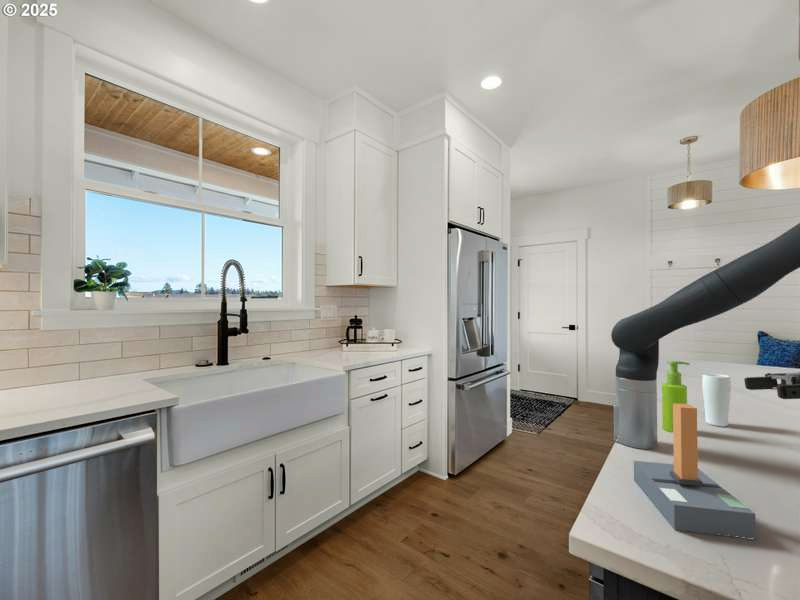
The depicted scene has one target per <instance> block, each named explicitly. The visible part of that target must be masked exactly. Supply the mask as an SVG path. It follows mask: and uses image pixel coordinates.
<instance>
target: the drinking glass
mask: <svg viewBox="0 0 800 600" xmlns="http://www.w3.org/2000/svg"><path fill="white" fill-rule="evenodd" d="M731 382H732V381H731V376H730V375H728V374H727V375H726V374H720V373H702V377H701V386H702V387H701V388H702V397H703V406H704V415H705V417H704V418H705V419H704V420H705V423H706V424H707V425H710V426H713V427H714V426H715V427H721V428H722V427H723V428H726V427H727V426H729V412H730V403H731V391H732V383H731Z"/></svg>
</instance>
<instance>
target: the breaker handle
mask: <svg viewBox="0 0 800 600" xmlns="http://www.w3.org/2000/svg"><path fill="white" fill-rule="evenodd" d="M672 433H673V434H672V435H673V437H672V438H673V439H672V440H673V464H674V471H670V476H671V477H672V478H673V479H674V480H675V481H676V482H677V483H678V484H685V485H695V486H702V481H701V480H700V479H699V478H698V469H699V464H698V463H699V462H698V458H699V456H698V455H699V454H698V453H699V452H698V408H697V407H695V406H693V405H691V404H689V403H687V404H676V403H673V432H672Z"/></svg>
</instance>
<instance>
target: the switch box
mask: <svg viewBox="0 0 800 600" xmlns="http://www.w3.org/2000/svg"><path fill="white" fill-rule="evenodd" d="M670 471H674V463H664V462H652V461H640V460H633V481H634V482H635V484H636V485H637V486H638V487H639V488H640V489H641V491H642V492H643V493H644V494H645V495H646V497H647V498H648V499H649V501H650V502H651V503H652V504H653V505H654V507H655V508H656V509H657V510H658V511H659V513H660V514H661V515H662V517H663V518H664V519H665V520H666V521H667V522H668V523H669V525H670V526H671V528H672V529H673V528H674V529H673V530H674V531H680V530H682V531H681V532H688V531H690V532H689V533H697V532H698V534H705V533H708V534H707V535H713V534H718V535H717V536H721V535H727V536H726V537H729V536H738V537H745V538H744V539H746V538H754V539H756V536H757V535H756V512H754V511H753V510H751V509H750V508H749V507H748V506H746V505H745V504H744V503H742V502H741V501H740V500H739V499H738V498H736V497H735V496H733V495H732V494H731V493H729V491H727V490H726V489H725V488H723V487H722V486H721V485H720V484H718V483H717V482H716V481H715V480H713V479H712V478H711V477H709V475H707V474H706V473H704V472H703V470H701V469H700V468H698V478H699V479H700V480H701V481H702V486H695V485H685V484H678V483H677V482H676V481H675V480H674V479H673V478H672V477H671V476H670ZM675 529H676V530H675ZM699 532H700V533H699ZM719 534H720V535H719ZM728 535H729V536H728ZM754 539H753V540H754ZM756 540H757V539H756Z"/></svg>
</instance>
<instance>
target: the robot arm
mask: <svg viewBox="0 0 800 600" xmlns="http://www.w3.org/2000/svg"><path fill="white" fill-rule="evenodd" d="M798 269H800V222H799V223H797V224H796V225H794V226H793V227H791V228H790V229H788V230H787V231H785V232H784V233H782V234H780V235H779V236H777V237H776V238H774V239H772V240H770V241H769V242H767V243H765V244H763V245H761V246H760V247H757V248H755V249H753V250H751V251H749V252H747V253H745V254H744V255H741V256H739V257H737V258H735V259H734V260H732V261H730V262H728V263H726V264H724V265H722V266H720V267H718V268H716V269H714V270H711V271H710V272H708V273H706V274H705V275H703V276H701V277H699V278H697V279H696V280H694V281H693V282H691V283H689V284H687V285H685V286H684V287H682V288H681V289H679V290H678V291H676V292H674V293H673V294H672V295H670V296H668V297H666V298H665V299H663V300H662V301H660V302H658V303H657V304H655V305H652V306H651V307H648V308H646V309H644V310H642V311H638V312H637V313H635V314H632V315H630V316H626V317H625V318H622V319H619V321H617V322H616V323H615V325H614V326H613V328H612V330H611V334H610V335H611V340H612V341H611V342H612V343H613V344H614V346H615V347H616V348H617V349H619V352H618V353H619V356H618V360H617V363H616V366H615V404H614V405H613V441H614V442H617V443H620V444H622V445H624V446H627V447H632V448H636V449H643V450H644V449H646V450H649V449H650V450H652V449H656V448H657V447H658V385H657V382H658V380H657V378H658V376H657V375H658V374H657V373H658V369H659V362H660V361H659V360H660V356H659V355H660V339H662V338H664V337H666V336H668V335H669V334H671V333H673V332H675V331H677V330H679V329H681V328H684V327H688V326H691V325H694V324H697V323H699V322H700V323H701V322H703V321H706V320H709V319H711V318H714V317H717V316H719V315H721V314H725V313H726V312H728V311H732V310H733V309H735V308H737V307H739V306H741V305H744V304H745V303H748V302H749V301H752V300H753V299H755V298H756V297H758V296H760V295H761V294H763V293H764V292H766V291H767V290H768V289H770V288H771V287H772V286H774V285H775V284H776V283H778V282H780V280H782V279H783V278H784V277H786V276H787V275H789V274H791V273H792V272H794V271H796V270H798ZM743 380H744V386H745V389H747V390H750V391H757V390H758V391H759V390H760V391H762V390H772V391H776V393H777V397H778V398H779V399H782V400H800V371H799V372H785V373H783V372H782V373H781V372H780V373H770V372H767V373H765V374H764V376H750V377H748V376H747V377H745V378H744V379H743ZM778 380H780V383H778ZM618 436H619V437H618ZM617 439H618V440H617ZM616 440H617V441H616Z"/></svg>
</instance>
